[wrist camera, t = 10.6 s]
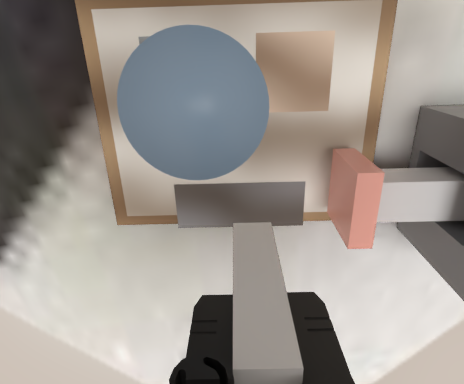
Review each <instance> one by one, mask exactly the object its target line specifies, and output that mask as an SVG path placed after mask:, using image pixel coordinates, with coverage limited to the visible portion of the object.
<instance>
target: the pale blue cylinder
mask: <svg viewBox="0 0 464 384" xmlns="http://www.w3.org/2000/svg"><path fill="white" fill-rule="evenodd" d="M117 107H118V114H119V118H120V122H121V125H122V128H123V131H124V133H125V135H126V137H127V139H128V141H129V142H130V144H131V145H132V147H133V148H134V149H135V150H136V152H137V153H138V154H139V155H140V156H141V157H142V158H143V159H144V160H145V161H146V162H147V163H149V164H150V165H152V166H153V167H154V168H156V169H158V170H159V171H161V172H163V173H165V174H168V175H170V176H173V177H177V178H180V179H186V180H208V179H213V178H217V177H220V176H223V175H226V174H227V173H229V172H231V171H233V170H235V169H236V168H238V167H239V166H241V165H242V164H243V163H244V162H245V161H247V160H248V159H249V157H250V156H251V155H252V154H253V153H254V152H255V150H256V149H257V147H258V146H259V144H260V142H261V140H262V138H263V136H264V133H265V130H266V127H267V123H268V118H269V95H268V89H267V85H266V82H265V79H264V76H263V74H262V72H261V69H260V67H259V66H258V64H257V63H256V61H255V59H254V58H253V57H252V55H251V54H250V53H249V52H248V51H247V49H245V48H244V47H243V46H242V45H241V44H240V43H239V42H238V41H236V40H235V39H233V38H232V37H230V36H229V35H227V34H225V33H223V32H221V31H219V30H216V29H213V28H210V27H206V26H200V25H179V26H173V27H170V28H166V29H164V30H161V31H159V32H157V33H155V34H153V35H152V36H150V37H148V38H147V39H146V40H144V41H143V42H142V43H141V44H140V45H139V46H138V47H137V48H136V49H135V50H134V51H133V52H132V54H131V55H130V57H129V58H128V60H127V62H126V64H125V66H124V68H123V70H122V73H121V76H120V79H119V84H118V90H117Z"/></svg>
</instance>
